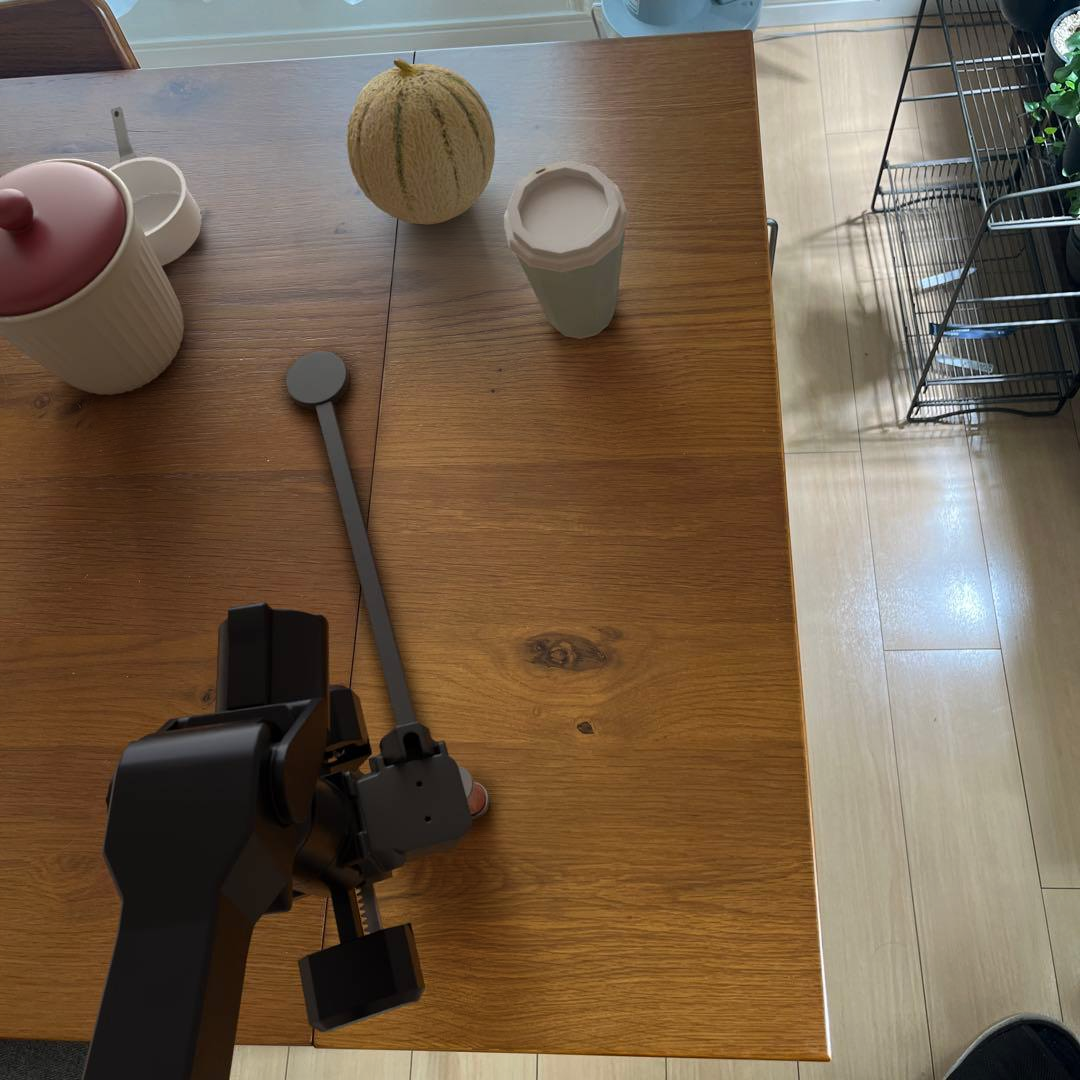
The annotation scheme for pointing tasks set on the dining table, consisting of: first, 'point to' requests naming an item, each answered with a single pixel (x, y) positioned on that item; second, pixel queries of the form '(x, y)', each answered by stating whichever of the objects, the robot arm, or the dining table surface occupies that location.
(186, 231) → the saucepan
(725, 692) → the dining table surface
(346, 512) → the spoon
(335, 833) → the robot arm
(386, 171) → the cantaloupe
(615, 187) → the disposable coffee cup
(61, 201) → the canister
